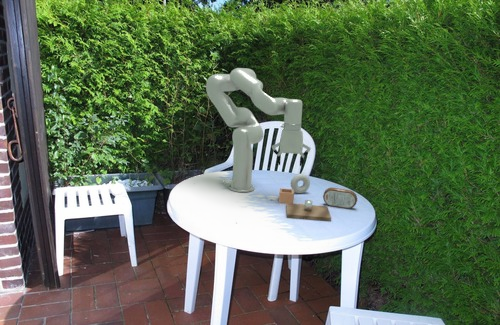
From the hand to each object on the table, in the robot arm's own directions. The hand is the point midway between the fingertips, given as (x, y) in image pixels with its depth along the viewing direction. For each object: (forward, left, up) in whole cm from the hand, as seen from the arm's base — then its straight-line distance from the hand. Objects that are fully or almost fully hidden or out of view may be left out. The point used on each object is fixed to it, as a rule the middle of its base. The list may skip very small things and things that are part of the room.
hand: (289, 165), depth 177 cm
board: (+8, -14, -17) cm, 24 cm away
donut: (+6, +14, -17) cm, 23 cm away
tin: (+23, -2, -18) cm, 29 cm away
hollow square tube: (-1, 0, -17) cm, 17 cm away
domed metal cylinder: (+8, -14, -16) cm, 23 cm away
